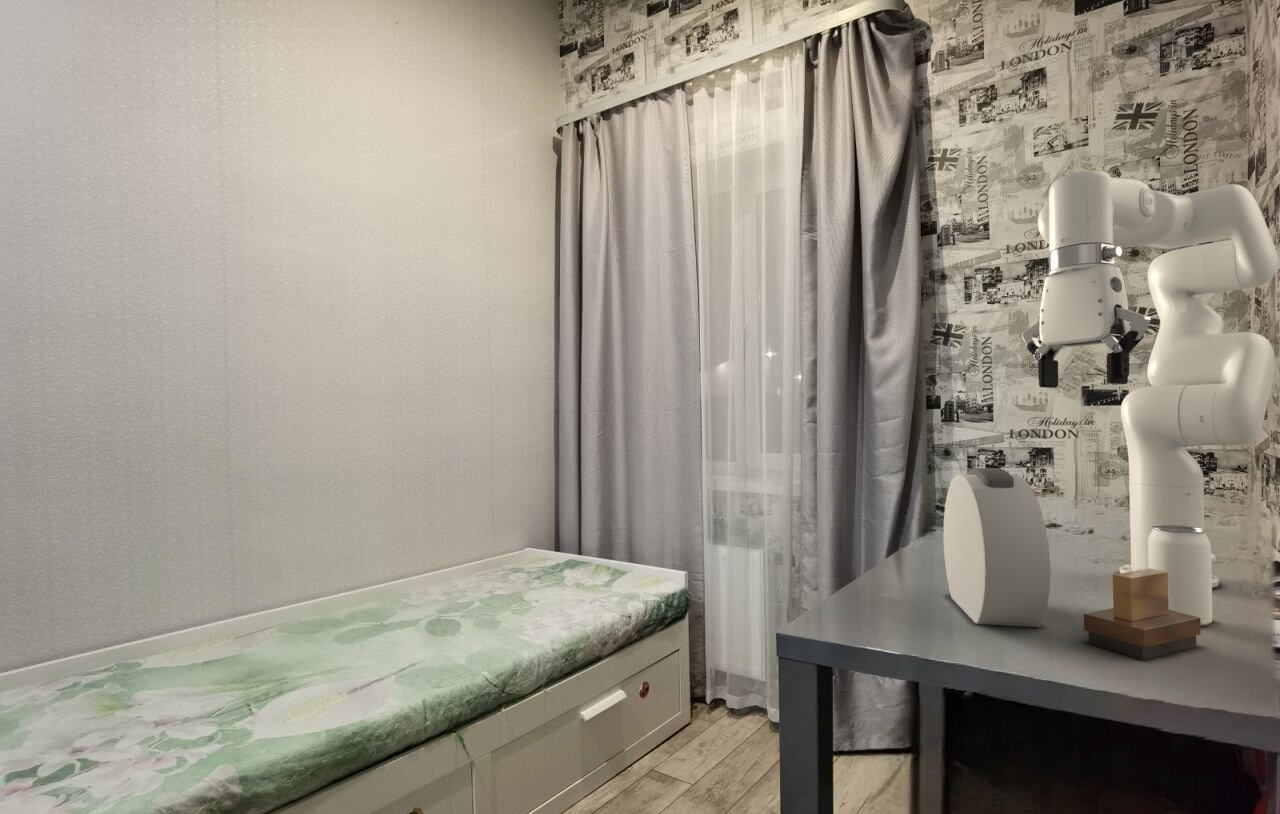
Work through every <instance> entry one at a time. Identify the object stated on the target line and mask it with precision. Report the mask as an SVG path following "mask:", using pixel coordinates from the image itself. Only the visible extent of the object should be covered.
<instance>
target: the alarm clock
mask: <svg viewBox="0 0 1280 814" xmlns="http://www.w3.org/2000/svg"><path fill="white" fill-rule="evenodd" d="M1046 527H1047V526H1046V523H1045V518H1044V516H1043V512H1042V508H1041V505H1040V503H1039V500H1038V499H1037V496H1036V494H1035V492H1034V489H1033V488H1032V487H1031V485H1030V484H1029V482H1027V480H1026V479H1024V478H1023V477H1022V476H1019V475H1018V474H1011V473H1010V472H1008V471H1007V470H1005V469H1002V468H998V467H997V468H995V467H994V468H993V467H991V468H987V467H986V468H985V467H980V468H979V467H974V468H972V469H970V470H969V471H968V472H966V474H958V475H956V476H955V477H954V478H953V479H952V480H951V482H950V484H949V486H948V490H947V493H946V500H945V504H944V515H943V555H944V563H945V572H946V573H945V574H946V578H947V585H948V590H949V593H950V594H949V595H950V598H951V599H952V600H953V601H954V602H955V604H957V606H959V607H960V608H961V610H963V611H964V613H965V614H967V616H968V617H969V618H970V619H971V620H972V621H973V622H974V623H975V624H977V625H989V626H1010V627H1027V628H1028V627H1031V628H1039V627H1040V626H1041V625H1042V623H1043V621H1044V618H1045V616H1046V613H1047V609H1048V605H1049V598H1050V592H1051V573H1052V572H1051V557H1050V554H1051V553H1050V544H1049V539H1048V533H1047V528H1046Z"/></svg>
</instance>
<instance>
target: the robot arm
mask: <svg viewBox="0 0 1280 814" xmlns="http://www.w3.org/2000/svg"><path fill="white" fill-rule="evenodd" d="M1040 209H1041V210H1040V211H1039V214H1038V217H1037V218H1038V219H1037V227H1038V232H1039V234H1040V236H1041V237H1042V240H1043V241H1045V243H1047V244H1048V276H1046V277H1045V279H1044V284H1043V288H1042V293H1041V299H1040V311H1039V321H1038V322H1036V323H1035V324H1033V325H1032V326H1030V327H1029V328H1027V330H1025V331H1023V332H1022V334H1021V337H1022V339H1023V341H1024V343H1025V346H1026V349H1027V351H1028V352H1029V353H1030V354H1032V356H1033V359H1034V360H1035V361H1038V362H1037V367H1038V368H1037V369H1038V372H1037V373H1038V375H1037V377H1038V386H1039V387H1040V388H1046V389H1047V388H1049V389H1050V388H1051V389H1055V388H1058V387H1059V361H1058V360H1057V359H1055V358H1056V357H1057V355H1058V354H1059V352H1060V351H1061V350H1062V349H1063V347H1067V348H1068V347H1069V348H1070V347H1081V346H1090V345H1091V346H1092V345H1099V344H1100V345H1101V344H1105V346H1106V347H1108V349H1109V350H1110V351H1111V352H1107V355H1106V382H1107V383H1108V384H1110V385H1127V384H1128V382H1129V376H1130V354H1133V353H1134V351H1135V347H1136V346H1138V344H1139V343H1140V342H1141V341H1142V340H1143V339H1144V338H1145V336H1144V335H1145V333H1146V331H1147V329H1148V327H1149V326H1150V324H1151V322H1152V319H1151V317H1150V316H1147V315H1145V314H1142V313H1139V312H1136V311H1134V310H1131V309H1129V302H1128V295H1127V289H1126V285H1125V280H1124V276H1123V272H1122V270H1121V268H1120V267H1118V266H1114V265H1115V259H1116V258H1117V257H1121V256H1122V255H1123V249H1122V248H1130V247H1138V246H1139V247H1149V248H1156V249H1172V250H1170V251H1167V252H1165V253H1162V254H1160V255H1158V256H1157V257H1155V258H1153V260H1152V261H1151V263H1150V264H1149V266H1148V269H1147V283H1148V289H1149V293H1150V296H1151V300H1152V303H1153V305H1154V308H1155V311H1156V313H1157V315H1158V318H1159V323H1160V325H1159V329H1158V332H1157V335H1156V338H1155V341H1154V344H1153V347H1152V350H1151V353H1150V356H1149V359H1148V363H1147V369H1146V377H1147V380H1148V382H1149V384H1150V385H1151V386H1150V385H1149V386H1144V387H1140V388H1137V389H1134V390H1133V391H1131V392H1129V393H1128V394H1126V395H1125V397H1124V398H1123V400H1122V402H1121V405H1120V419H1121V424H1122V429H1123V432H1124V438H1125V441H1126V448H1127V457H1128V479H1129V480H1128V481H1129V482H1128V483H1129V485H1128V486H1129V487H1128V489H1129V492H1128V493H1129V528H1130V530H1129V531H1130V532H1129V534H1130V537H1129V539H1130V564H1124V565H1122V566H1121V565H1120V567H1119V573H1125V572H1131V571H1137V570H1144V569H1149V563H1148V537H1149V535H1150V534H1151V532H1152V530H1153V528H1152V526H1154V525H1179V526H1189V527H1196V528H1201V529H1204V530H1206V527H1205V526H1206V523H1205V480H1204V479H1205V478H1204V472H1203V470H1202V467H1201V466H1200V464H1199V463H1198V462H1197V461H1196V459H1195V458H1194V457H1193V456H1192V454H1190V453H1189V452H1188V451H1187V449H1185V448H1184V446H1191V445H1192V446H1193V445H1195V446H1242V445H1247V444H1249V443H1252V442H1253V441H1254V440H1256V439H1257V438H1258V436H1259V434H1260V433H1261V430H1262V428H1263V424H1264V420H1265V416H1266V412H1267V407H1268V404H1269V400H1270V399H1269V398H1270V395H1271V391H1272V390H1271V389H1272V387H1273V381H1274V378H1275V370H1276V358H1275V352H1274V349H1273V346H1272V344H1271V342H1270V341H1269V340H1268V338H1266V337H1265V336H1263V334H1260V333H1257V332H1249V331H1239V332H1238V331H1236V332H1225V333H1223V332H1224V327H1225V326H1224V325H1225V324H1224V320H1223V318H1222V316H1220V315H1219V313H1218V312H1217V311H1215V310H1214V308H1212V307H1211V306H1210V305H1208V304H1207V303H1205V302H1203V301H1201V300H1199V299H1198V298H1196V297H1195V295H1205V294H1212V293H1218V292H1219V293H1220V292H1221V293H1222V292H1228V291H1235V290H1243V289H1250V288H1251V289H1252V288H1256V287H1259V286H1262V285H1265V284H1267V283H1269V282H1270V281H1271V280H1272V279H1273V278H1274V276H1275V275H1276V273H1277V271H1278V265H1279V264H1278V263H1279V260H1278V259H1279V257H1278V252H1277V249H1276V247H1275V243H1274V240H1273V238H1272V236H1271V233H1270V231H1269V228H1268V225H1267V222H1266V221H1265V217H1264V215H1263V212H1262V210H1261V208H1260V206H1259V204H1258V203H1257V200H1256V198H1255V197H1254V195H1253V194H1252V193H1251V192H1250V191H1249V190H1248V189H1247V188H1246V187H1244V186H1243V185H1240V184H1237V183H1230V184H1226V185H1224V184H1223V185H1220V186H1216V187H1211V188H1208V189H1203V190H1199V191H1194V192H1190V193H1186V194H1179V195H1178V194H1172V193H1170V192H1165V191H1162V190H1158V189H1157V190H1155V189H1151V187H1149V185H1147V184H1146V183H1145V182H1143V181H1140V180H1138V179H1134V178H1125V177H1113V176H1111V175H1110V174H1109V173H1108V172H1106V171H1104V170H1097V169H1096V170H1095V169H1092V170H1091V169H1089V170H1080V171H1075V172H1070V173H1068V174H1065V175H1062V176H1060V177H1058V178H1057V179H1055V180H1054V181H1052V183H1051V185H1050V187H1049V190H1048V201H1047V202H1046V203H1045V204H1044V205H1043V206H1042V208H1040ZM1177 248H1178V249H1177ZM1130 324H1131V325H1130ZM1038 337H1039V338H1040V342H1041V343H1040V342H1039V338H1038ZM1216 562H1217V557H1216V555H1215V554H1214V553H1213V552H1211V565H1213V564H1215V563H1216ZM1219 585H1220V579H1219V577H1218V576H1217V575H1215V574H1212V589H1214V588H1216V587H1218V586H1219Z"/></svg>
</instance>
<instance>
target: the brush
mask: <svg viewBox="0 0 1280 814" xmlns="http://www.w3.org/2000/svg"><path fill="white" fill-rule="evenodd" d="M1112 599H1113V600H1112V603H1113V604H1112V605H1113V607H1112V608H1106V609H1102V610H1096V611H1091V612H1086V613H1083V631H1086V632H1087V635H1088V638H1087V639H1088V644H1090V645H1092V646H1096V647H1100V648H1103V649H1106V650H1108V651H1113V652H1116V653H1119V654H1122V655H1126V656H1128V657H1132V658H1135V659H1138V660H1141V661H1145V660H1149V659H1153V658H1157V657H1162V656H1165V655H1170V654H1173V653H1177V652H1182V651H1185V650H1189V649H1193V648H1197V636H1200V635H1201V633H1202V632H1201V627H1202V626H1201V625H1200V617H1196V616H1192V615H1188V614H1183V613H1179V612H1175V611H1171V610H1169V605H1168V572H1166V571H1160V570H1155V569H1144V570H1137V571H1131V572H1125V573H1120V572H1119V573H1113V574H1112Z"/></svg>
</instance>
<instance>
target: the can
mask: <svg viewBox="0 0 1280 814" xmlns="http://www.w3.org/2000/svg"><path fill="white" fill-rule="evenodd" d="M1152 528H1153V530H1152V532H1151V534H1150V535H1149V537H1148V563H1149V569H1155V570H1160V571H1166V572H1168V605H1169V610H1171V611H1175V612H1179V613H1183V614H1188V615H1192V616H1196V617H1200V625H1201V627H1205V626H1208V625H1210V624H1211V623H1212V622H1213V588H1212V575H1213V573H1212V572H1213V571H1212V564H1211V553H1212V545H1211V541H1210V539H1209V538H1208V536H1207V529H1205V530H1204V529H1201V528H1196V527H1189V526H1179V525H1154V526H1152Z"/></svg>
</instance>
